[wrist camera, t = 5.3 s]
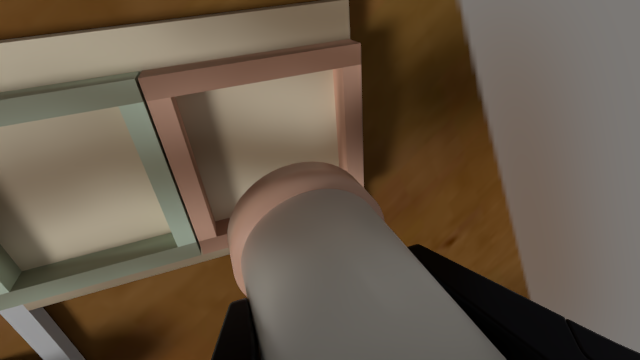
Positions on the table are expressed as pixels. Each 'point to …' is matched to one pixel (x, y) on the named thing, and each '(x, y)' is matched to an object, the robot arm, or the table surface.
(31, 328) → the feeder lane
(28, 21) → the table surface
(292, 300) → the terracotta-banded sleeve
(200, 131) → the board
